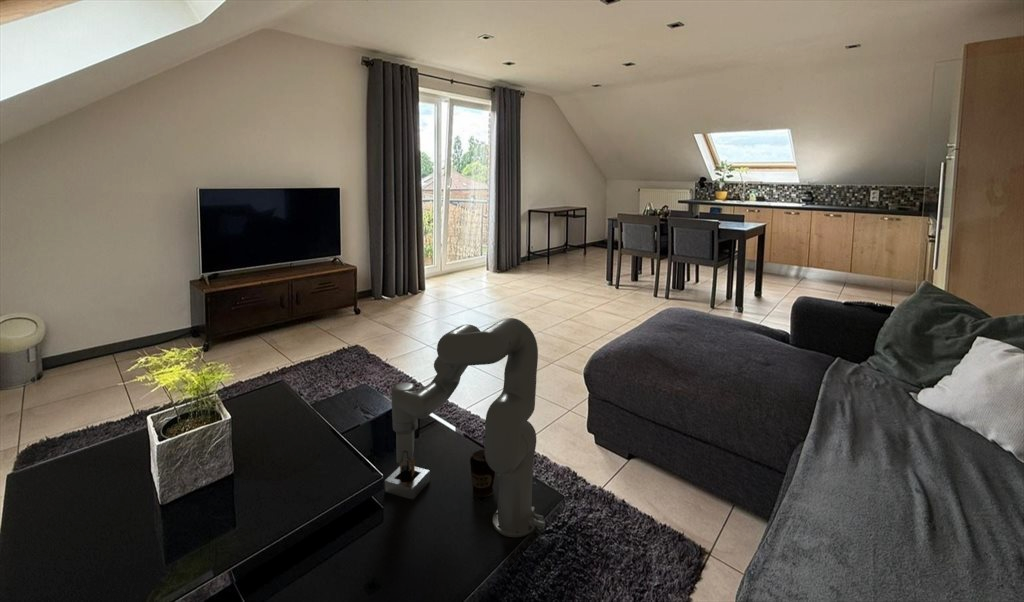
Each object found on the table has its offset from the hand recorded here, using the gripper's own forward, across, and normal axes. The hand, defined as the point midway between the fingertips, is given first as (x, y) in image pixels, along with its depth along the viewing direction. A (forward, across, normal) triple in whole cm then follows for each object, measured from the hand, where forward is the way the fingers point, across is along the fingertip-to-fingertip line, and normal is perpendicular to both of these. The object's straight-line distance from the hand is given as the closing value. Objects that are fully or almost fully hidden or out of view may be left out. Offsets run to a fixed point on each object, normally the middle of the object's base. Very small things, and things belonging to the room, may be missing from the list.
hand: (407, 471), depth 154 cm
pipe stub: (+5, 0, 0) cm, 5 cm away
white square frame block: (+5, 0, 0) cm, 5 cm away
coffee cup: (+6, +5, +23) cm, 25 cm away
